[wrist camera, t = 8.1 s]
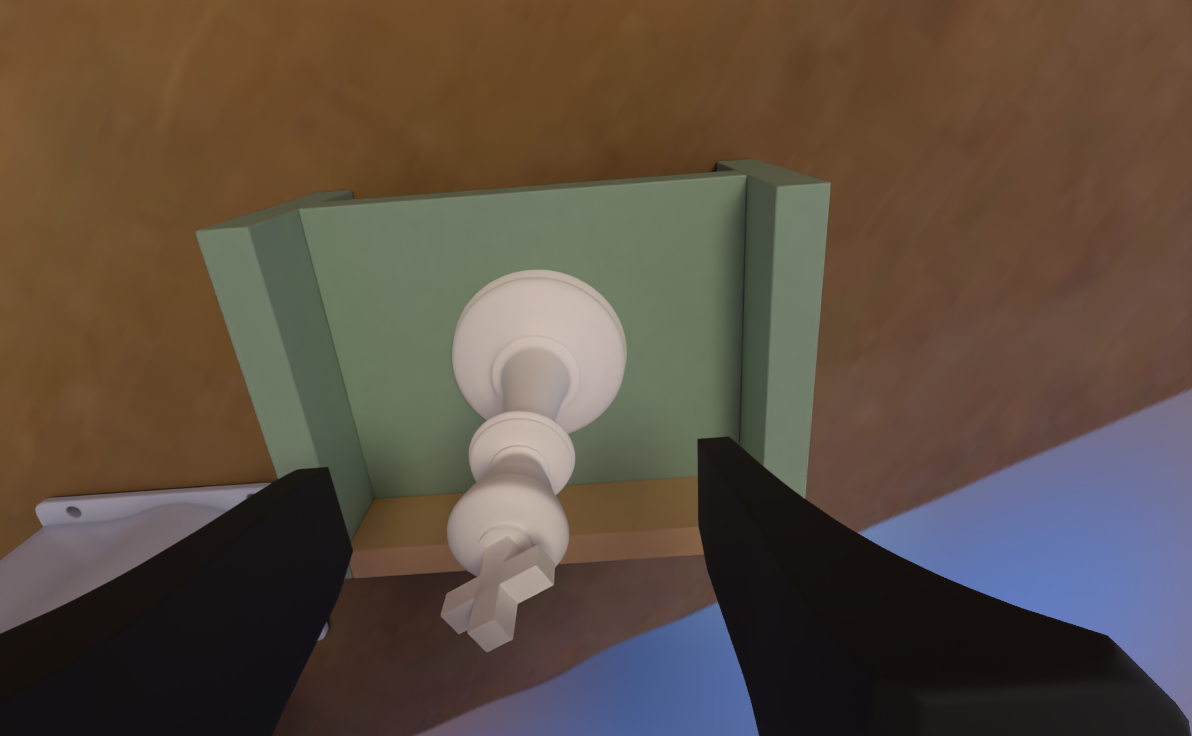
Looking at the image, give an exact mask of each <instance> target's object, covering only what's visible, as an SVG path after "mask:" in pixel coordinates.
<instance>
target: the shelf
mask: <svg viewBox="0 0 1192 736" xmlns="http://www.w3.org/2000/svg"><path fill="white" fill-rule="evenodd" d="M830 186H831V184H830V183H829V182H826V181H823V180H820V179H817V178H813V177H810V176H807V175H804V174H801V173H797V172H794V171H791V170H788V169H784V168H781V167H778V166H775V165H772V164H768V163H765V162H762V161H759V160H755V159H743V160H730V161H718V162H717V172H707V173H694V174H680V175H667V176H654V177H641V178H628V179H615V180H602V181H589V182H576V183H563V184H550V185H537V186H524V187H511V188H498V189H485V190H472V191H459V192H446V193H433V194H420V195H406V196H393V197H380V198H367V199H353V194H352V191H351V190H341V191H327V192H316V193H313V194H310V195H306V196H303V197H300V198H297V199H294V200H291V201H288V202H284V203H281V204H278V205H275V206H272V207H269V208H266V209H263V210H259V211H256V212H253V213H250V214H247V215H244V216H241V217H237V218H234V219H231V220H228V221H225V222H222V223H219V224H215V225H212V226H209V227H206V228H203V229H200V230H197V231H196V237H197V240H198V243H199V246H200V249H201V252H202V255H203V258H204V261H205V264H206V267H207V269H208V272H209V275H210V278H211V281H212V284H213V287H214V290H215V293H216V296H217V299H218V302H219V305H220V308H221V311H222V314H223V317H224V320H225V323H226V326H227V329H228V332H229V335H230V338H231V341H232V344H233V347H234V350H235V353H236V356H237V359H238V362H239V365H240V368H241V371H242V373H243V376H244V379H245V382H246V385H247V388H248V391H249V394H250V397H251V400H252V403H253V406H254V409H255V412H256V415H257V418H258V421H259V424H260V427H261V430H262V433H263V436H264V439H265V442H266V445H267V448H268V451H269V454H270V457H271V460H272V463H273V466H274V469H275V472H276V475H277V477H278V479H280V478H281V477H283V476H285V475H287V474H289V473H291V472H293V471H295V470H297V469H306V468H319V467H329V471H330V474H331V478H332V481H333V484H334V488H335V491H336V494H337V498H338V501H339V504H340V508H341V511H342V515H343V518H344V521H345V525H346V528H347V531H348V535H349V538H350V541H351V545H352V548H353V553H352V556H351V560H350V563H349V566H348V569H347V573H346V576H345V579H350V578H353V577H354V578H366V577H381V576H395V575H410V574H425V573H439V572H454V571H467V570H466V569H465V568H464V567H463V566H462V565H461V564H460V563H459V562H458V561H457V560H456V558H455V557H454V555H453V554H452V552H451V549H450V547H449V544H448V539H447V524H448V520H449V517H450V514H451V512H452V510H453V508H454V506H455V505H456V503H457V502H458V501H459V499H460V498H461V497H462V496H463V495H464V494H465V493H466V492H467V491H468V490H469V489H470V488H471V487H472V486H473V485H474V484H476V483H477V482H476V481H475V479H474V477H473V474H472V472H471V467H470V463H469V446H470V443H471V440H472V438H473V436H474V434H475V432H476V431H477V430H478V428H479V427H480V426H481V425H482V424H483V423H484V422H486V421H487V420H485V419H484V418H483V417H482V416H480V415H479V414H478V413H477V412H476V411H475V410H474V409H473V408H472V407H471V405H470V404H469V403H468V402H467V400H466V399H465V397H464V396H463V394H462V392H461V390H460V388H459V386H458V384H457V381H456V378H455V375H454V371H453V365H452V346H453V339H454V333H455V329H456V325H457V322H458V320H459V317H460V315H461V313H462V311H463V310H464V308H465V307H466V305H467V304H468V302H469V301H470V300H471V299H472V297H473V296H474V295H475V294H476V293H477V292H478V291H480V290H481V289H482V288H483V287H485V286H486V285H487V284H489V283H491V282H492V281H494V280H496V279H498V278H500V277H502V276H505V275H508V274H511V273H514V272H518V271H524V270H551V271H556V272H561V273H564V274H567V275H570V276H573V277H575V278H577V279H579V280H581V281H583V282H585V283H587V284H588V285H590V286H591V287H593V288H594V289H595V290H596V291H598V292H599V293H600V294H601V295H602V296H603V297H604V298H605V299H606V300H607V301H608V303H609V304H610V305H611V306H612V308H613V309H614V311H615V312H616V314H617V316H618V318H619V320H620V322H621V325H622V327H623V330H624V334H625V338H626V346H627V360H626V366H625V371H624V376H623V380H622V383H621V386H620V389H619V391H618V393H617V395H616V397H615V398H614V400H613V401H612V403H611V404H610V406H609V407H608V408H607V409H606V410H605V411H604V413H603V414H601V415H600V416H599V417H598V418H597V419H596V420H594V421H593V422H592V423H590V424H589V425H587V426H585V427H583V428H581V429H579V430H577V431H575V432H572V433H569V434H568V435H569V437H570V439H571V441H572V443H573V446H574V450H575V466H574V470H573V472H572V475H571V477H570V479H569V480H568V482H567V483H566V485H565V486H564V488H563V489H562V490H561V491H560V492H559V493H558V494H557V495H556V496H557V498H558V499H559V501H560V503H561V505H562V507H563V510H564V512H565V514H566V517H567V521H568V525H569V543H568V547H567V550H566V552H565V555H564V556H563V558H562V560H561V561H560V562H559V564H571V563H586V562H601V561H615V560H630V559H645V558H659V557H674V556H689V555H703V554H704V551H703V546H702V541H701V536H700V531H699V526H698V452H697V439H701V438H714V437H728V436H729V437H730V438H732V439H733V440H734V441H735V442H736V443H737V444H738V445H740V446H741V447H742V448H743V449H744V450H745V451H747V452H748V453H749V454H750V455H751V456H752V457H753V458H755V459H756V460H757V461H758V462H759V463H760V464H762V465H763V466H764V467H765V468H766V469H767V470H769V471H770V472H771V473H772V474H774V475H775V476H776V477H777V478H778V479H780V480H781V481H782V482H783V483H785V484H786V485H787V486H789V487H790V488H791V489H792V490H794V491H795V492H796V493H798V494H799V495H801V496H802V497H803V498H805V493H806V481H807V469H808V456H809V444H810V432H811V420H812V407H813V395H814V383H815V370H816V358H817V346H818V334H819V321H820V309H821V297H822V284H823V272H824V260H825V248H826V235H827V223H828V211H829V198H830Z"/></svg>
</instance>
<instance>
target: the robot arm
mask: <svg viewBox="0 0 1192 736" xmlns="http://www.w3.org/2000/svg"><path fill="white" fill-rule="evenodd" d="M697 452H698V526H699V531H700V536H701V541H702V546H703V551H704V556H705V560H706V565H707V570H708V573H709V576H710V579H711V582H712V585H713V588H714V591H715V594H716V597H717V600H718V603H719V606H720V609H721V612H722V615H723V618H724V620H725V623H726V626H727V629H728V632H729V635H730V638H731V641H732V644H733V646H734V650H735V652H736V655H737V658H738V661H739V664H740V667H741V670H742V673H743V676H744V679H745V682H746V686H747V689H748V693H749V696H750V699H751V703H752V707H753V711H754V716H755V720H756V724H757V728H758V733H759V736H1191V733H1190V726H1189V721H1188V719H1187V718H1186V716H1185V715H1184V714H1183V712H1182V711H1181V710H1180V708H1179V707H1178V705H1177V704H1176V703H1175V702H1174V701H1173V700H1172V699H1171V698H1170V697H1169V696H1168V695H1167V694H1166V693H1165V692H1164V691H1163V690H1162V689H1161V688H1160V687H1159V686H1158V685H1157V684H1156V683H1155V682H1154V681H1153V680H1152V679H1151V678H1150V677H1149V676H1148V675H1147V674H1146V673H1145V672H1144V671H1143V670H1142V669H1141V668H1140V667H1139V666H1138V665H1137V664H1136V663H1135V662H1134V661H1133V660H1132V659H1131V658H1130V657H1129V656H1128V655H1127V654H1126V653H1125V652H1124V651H1123V650H1122V649H1121V648H1120V647H1119V646H1118V645H1117V644H1116V643H1115V642H1114V641H1113V640H1112V639H1111V638H1109V637H1108V636H1107V635H1104V634H1101V633H1098V632H1094V631H1092V630H1088V629H1085V628H1082V627H1079V626H1076V625H1073V624H1070V623H1066V622H1063V621H1060V620H1057V619H1054V618H1051V617H1047V616H1045V615H1042V614H1039V613H1035V612H1032V611H1029V610H1026V609H1023V608H1020V607H1017V606H1015V605H1012V604H1009V603H1007V602H1004V601H1001V600H999V599H996V598H994V597H991V596H988V595H986V594H983V593H980V592H978V591H976V590H973V589H970V588H968V587H965V586H963V585H961V584H959V583H956V582H954V581H951V580H949V579H947V578H944V577H942V576H940V575H937V574H935V573H933V572H931V571H929V570H927V569H925V568H922V567H920V566H918V565H917V564H914V563H912V562H910V561H908V560H906V559H904V558H902V557H900V556H898V555H896V554H894V553H892V552H890V551H888V550H886V549H884V548H882V547H881V546H879V545H877V544H875V543H874V542H872V541H870V540H868V539H867V538H865V537H863V536H862V535H860V534H858V533H856V532H855V531H853V530H851V529H849V528H848V527H846V526H845V525H843V524H841V523H840V522H838V521H837V520H835V519H833V518H832V517H830V516H829V515H828V514H826V513H825V512H823V511H822V510H820V509H819V508H817V507H816V506H815V505H813V504H812V503H810V502H809V501H807V500H806V499H805V498H803V497H802V496H801V495H799V494H798V493H796V492H795V491H794V490H792V489H791V488H790V487H789V486H787V485H786V484H785V483H783V482H782V481H781V480H780V479H778V478H777V477H776V476H775V475H774V474H772V473H771V472H770V471H769V470H767V469H766V468H765V467H764V466H763V465H762V464H760V463H759V462H758V461H757V460H756V459H755V458H753V457H752V456H751V455H750V454H749V453H748V452H747V451H745V450H744V449H743V448H742V447H741V446H740V445H738V444H737V443H736V442H735V441H734V440H733V439H732V438H730V437H729V436H728V437H714V438H701V439H697ZM252 494H253V495H252ZM77 508H78V509H79V510H78V509H77ZM35 511H36V514H37V516H38V518H39V520H40V522H41V524H42V526H43V528H41V529H40V530H39V531H37V532H36V533H35V534H34V535H32V536H31V537H30V538H28V539H27V540H26V541H24V542H23V543H22V544H21V545H19V546H18V547H17V548H15V549H14V550H13V551H12V552H10V553H9V554H8V555H6V556H5V557H4V558H3V559H1V560H0V736H272V734H273V732H274V730H275V728H276V725H277V723H278V721H279V719H280V716H281V714H282V712H283V710H284V707H285V705H286V703H287V701H288V699H289V697H290V695H291V693H292V691H293V689H294V687H295V685H296V683H297V681H298V679H299V677H300V675H301V673H302V671H303V669H304V667H305V665H306V663H307V661H308V659H309V657H310V655H311V653H312V651H313V649H314V647H315V645H316V643H317V641H318V640H322V639H323V638H324V637H325V635H326V633H327V631H328V624H327V620H328V618H329V616H330V614H331V612H332V610H333V608H334V605H335V603H336V601H337V599H338V596H339V593H340V591H341V588H342V585H343V582H344V579H345V576H346V573H347V569H348V566H349V563H350V560H351V556H352V553H353V548H352V545H351V541H350V538H349V535H348V531H347V528H346V525H345V521H344V518H343V515H342V511H341V508H340V504H339V501H338V498H337V494H336V491H335V488H334V484H333V481H332V478H331V474H330V471H329V467H319V468H306V469H297V470H295V471H293V472H291V473H289V474H287V475H285V476H283V477H281V478H280V479H278V480H276V481H274V482H273V483H253V484H239V485H225V486H210V487H196V488H182V489H168V490H154V491H139V492H125V493H111V494H97V495H83V496H69V497H54V498H47V499H45V500H43V501H42V502H41V503H39V504H38V505H37V506H36V509H35Z"/></svg>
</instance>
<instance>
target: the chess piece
mask: <svg viewBox="0 0 1192 736" xmlns="http://www.w3.org/2000/svg"><path fill="white" fill-rule="evenodd" d="M626 360H627V346H626V338H625V334H624V330H623V327H622V325H621V322H620V320H619V318H618V316H617V314H616V312H615V311H614V309H613V308H612V306H611V305H610V304H609V303H608V301H607V300H606V299H605V298H604V297H603V296H602V295H601V294H600V293H599V292H598V291H596V290H595V289H594V288H593V287H591V286H590V285H588V284H587V283H585V282H583V281H581V280H579V279H577V278H575V277H573V276H570V275H567V274H564V273H561V272H556V271H551V270H524V271H518V272H514V273H511V274H508V275H505V276H502V277H500V278H498V279H496V280H494V281H492V282H491V283H489V284H487V285H486V286H485V287H483V288H482V289H481V290H480V291H478V292H477V293H476V294H475V295H474V296H473V297H472V299H471V300H470V301H469V302H468V304H467V305H466V307H465V308H464V310H463V311H462V313H461V315H460V317H459V320H458V322H457V325H456V329H455V333H454V339H453V346H452V365H453V371H454V375H455V378H456V381H457V384H458V386H459V388H460V390H461V392H462V394H463V396H464V397H465V399H466V400H467V402H468V403H469V404H470V405H471V407H472V408H473V409H474V410H475V411H476V412H477V413H478V414H479V415H480V416H482V417H483V418H484V419H485V420H487V421H486V422H484V423H483V424H482V425H481V426H480V427H479V428H478V430H477V431H476V432H475V434H474V436H473V438H472V440H471V443H470V446H469V463H470V467H471V472H472V474H473V477H474V479H475V481H476V482H477V483H476V484H474V485H473V486H472V487H471V488H470V489H469V490H468V491H467V492H466V493H465V494H464V495H463V496H462V497H461V498H460V499H459V501H458V502H457V503H456V505H455V506H454V508H453V510H452V512H451V514H450V517H449V520H448V524H447V539H448V544H449V547H450V549H451V552H452V554H453V555H454V557H455V558H456V560H457V561H458V562H459V563H460V564H461V565H462V566H463V567H464V568H465V569H466V570H467V571H469V572H470V573H471V574H473V575H475V576H477V577H476V578H474V579H473V580H471V581H469V582H467V583H465V584H463V585H461V586H460V587H458V588H456V589H454V590H452V591H450V592H448V593H447V594H446V597H445V601H444V604H443V608H442V611H441V615H440V616H441V617H442V618H443V619H444V620H445V621H446V622H447V623H448V624H449V625H450V626H451V627H452V628H453V629H454V630H455V631H456V632H457V633H458V634H461V633H462V632H464V631H466V630H468V631H467V633H468V634H469V635H470V636H471V637H472V638H473V639H474V640H475V641H476V642H477V643H478V644H479V645H480V646H481V647H482V648H483V649H484V650H485V651H486V652H489V651H491V650H493V649H495V648H497V647H499V646H501V645H503V644H505V643H507V642H509V641H511V640H513V635H514V627H515V620H516V613H517V605H518V603H520V602H522V601H524V600H526V599H528V598H530V597H532V596H534V595H536V594H538V593H540V592H541V591H543V590H545V589H547V588H549V587H551V586H553V585H554V574H555V567H556V566H557V565H558V564H559V562H560V561H561V560H562V558H563V556H564V555H565V552H566V550H567V547H568V543H569V525H568V521H567V517H566V514H565V512H564V510H563V507H562V505H561V503H560V501H559V499H558V498H557V496H556V495H557V494H558V493H559V492H560V491H561V490H562V489H563V488H564V486H565V485H566V483H567V482H568V480H569V479H570V477H571V475H572V472H573V470H574V466H575V450H574V446H573V443H572V441H571V439H570V437H569V435H568V434H569V433H572V432H575V431H577V430H579V429H581V428H583V427H585V426H587V425H589V424H590V423H592V422H593V421H594V420H596V419H597V418H598V417H599V416H600V415H601V414H603V413H604V411H605V410H606V409H607V408H608V407H609V406H610V404H611V403H612V401H613V400H614V398H615V397H616V395H617V393H618V391H619V389H620V386H621V383H622V380H623V376H624V371H625V366H626Z"/></svg>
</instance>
